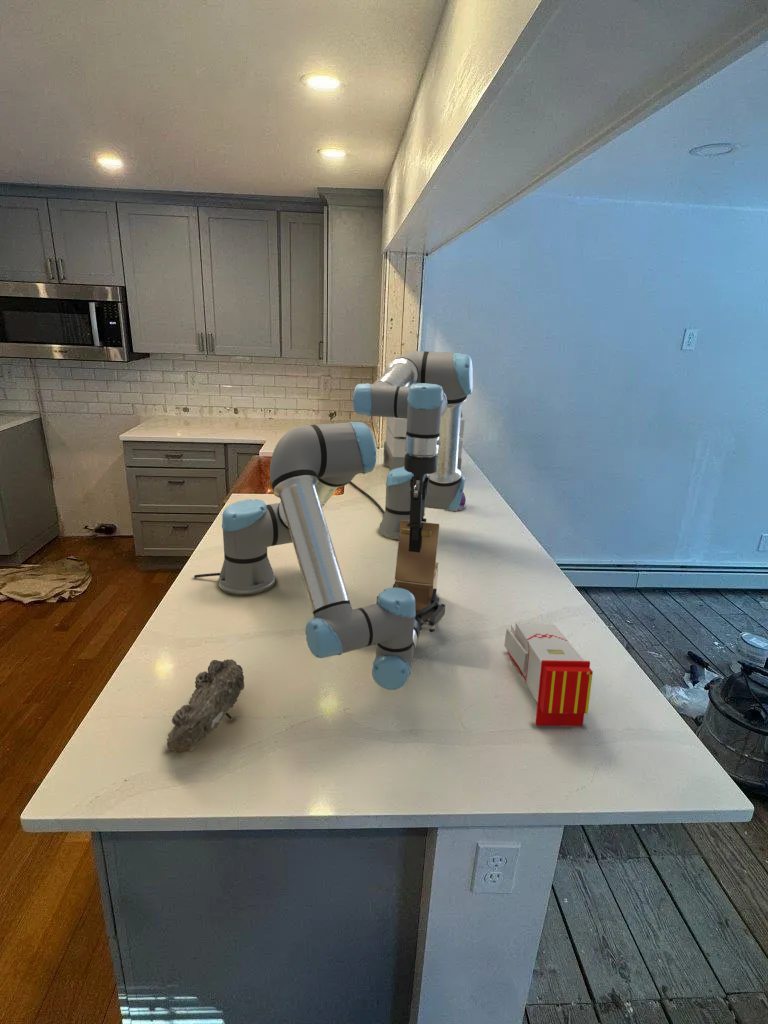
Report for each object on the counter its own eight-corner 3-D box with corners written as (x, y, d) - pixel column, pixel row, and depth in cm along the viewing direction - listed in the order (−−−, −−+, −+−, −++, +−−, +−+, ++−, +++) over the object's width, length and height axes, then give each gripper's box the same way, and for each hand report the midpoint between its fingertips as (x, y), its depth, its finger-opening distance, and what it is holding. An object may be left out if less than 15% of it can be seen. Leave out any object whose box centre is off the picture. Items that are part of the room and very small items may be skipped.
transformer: (382, 463, 289) (386, 382, 275) (445, 464, 293) (451, 384, 279) (390, 482, 257) (394, 392, 243) (460, 483, 261) (468, 394, 247)
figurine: (452, 513, 222) (455, 476, 217) (438, 505, 231) (441, 469, 226) (471, 510, 227) (475, 474, 221) (457, 502, 235) (460, 467, 230)
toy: (550, 607, 134) (601, 667, 105) (545, 659, 137) (594, 732, 108) (499, 606, 134) (537, 666, 104) (495, 659, 137) (530, 731, 107)
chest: (401, 590, 160) (403, 558, 156) (435, 594, 158) (438, 562, 155) (393, 616, 146) (394, 581, 143) (430, 621, 145) (433, 586, 141)
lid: (401, 519, 143) (396, 520, 135) (439, 523, 142) (437, 524, 133) (395, 579, 143) (390, 583, 135) (433, 583, 142) (430, 588, 133)
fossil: (192, 660, 117) (244, 628, 112) (224, 691, 120) (276, 661, 115) (142, 746, 98) (202, 712, 93) (182, 779, 101) (242, 748, 96)
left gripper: (352, 643, 129) (372, 598, 150) (450, 657, 126) (456, 609, 146) (352, 615, 127) (373, 572, 147) (452, 628, 123) (459, 583, 144)
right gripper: (434, 463, 121) (427, 563, 129) (441, 448, 134) (433, 540, 142) (400, 460, 122) (394, 559, 130) (409, 445, 136) (404, 536, 143)
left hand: (414, 590), depth 147 cm, fingers closed on chest, 10 cm apart
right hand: (415, 549), depth 136 cm, fingers closed on lid, 1 cm apart
